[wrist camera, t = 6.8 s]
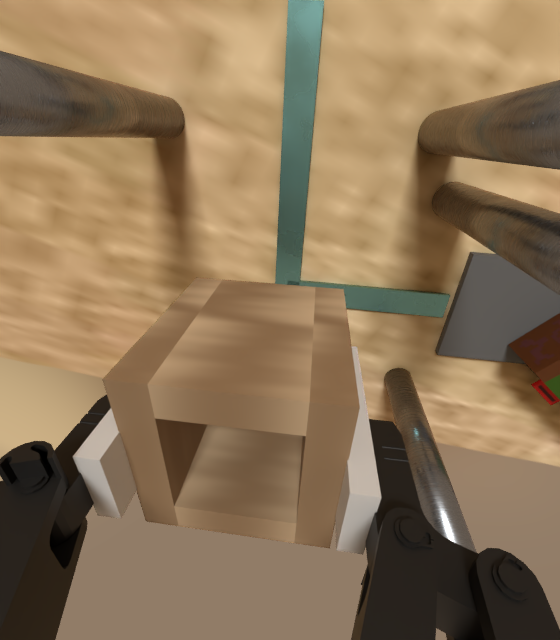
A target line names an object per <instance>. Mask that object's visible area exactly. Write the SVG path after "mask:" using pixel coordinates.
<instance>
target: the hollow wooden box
mask: <svg viewBox="0 0 560 640" xmlns="http://www.w3.org/2000/svg"><path fill="white" fill-rule="evenodd" d="M103 383H104V386H105V389H106V392H107V396H108V399H109V402H110V406H111V409H112V412H113V415H114V419H115V422H116V425H117V428H118V432H120V435H121V438H122V442H123V445H124V448H125V452H126V455H127V458H128V461H129V465H130V468H131V471H132V475H133V478H134V481H135V484H136V488H137V494H138V497H139V500H140V503H141V507H142V510H143V513H144V516H145V520H146V521H147V522H155V523H162V524H168V525H175V526H181V527H188V528H195V529H202V530H208V531H215V532H222V533H229V534H236V535H243V536H250V537H256V538H263V539H270V540H277V541H283V542H290V543H297V544H304V545H310V546H318V547H325V548H330V544H331V539H332V534H333V530H334V525H335V516H336V511H337V507H338V502H339V497H340V493H341V488H342V483H343V479H344V474H345V469H346V464H347V460H349V456H350V451H351V447H352V442H353V437H354V433H355V428H356V423H357V419H358V414H359V409H360V405H359V397H358V390H357V383H356V375H355V368H354V361H353V354H352V346H351V339H350V332H349V325H348V317H347V310H346V303H345V295H344V289H335V288H322V287H309V286H297V285H284V284H271V283H259V282H246V281H233V280H221V279H208V278H195V280H194V281H193V282H192V283H191V284H190V285H189V286H188V287H187V288H186V289H185V290H184V291H183V293H182V294H181V295H180V296H179V297H178V298H177V299H176V300H175V301H174V302H173V303H172V304H171V306H170V307H169V308H168V309H167V310H166V311H165V312H164V313H163V314H162V315H161V316H160V317H159V319H158V320H157V321H156V322H155V323H154V324H153V325H152V326H151V327H150V328H149V329H148V330H147V332H146V333H145V334H144V335H143V336H142V337H141V338H140V339H139V340H138V341H137V342H136V344H135V345H134V346H133V347H132V348H131V349H130V350H129V351H128V352H127V353H126V354H125V355H124V357H123V358H122V359H121V360H120V361H119V362H118V363H117V364H116V365H115V366H114V367H113V368H112V370H111V371H110V372H109V373H108V374H107V375H106V376H105V377H104V378H103Z"/></svg>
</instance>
